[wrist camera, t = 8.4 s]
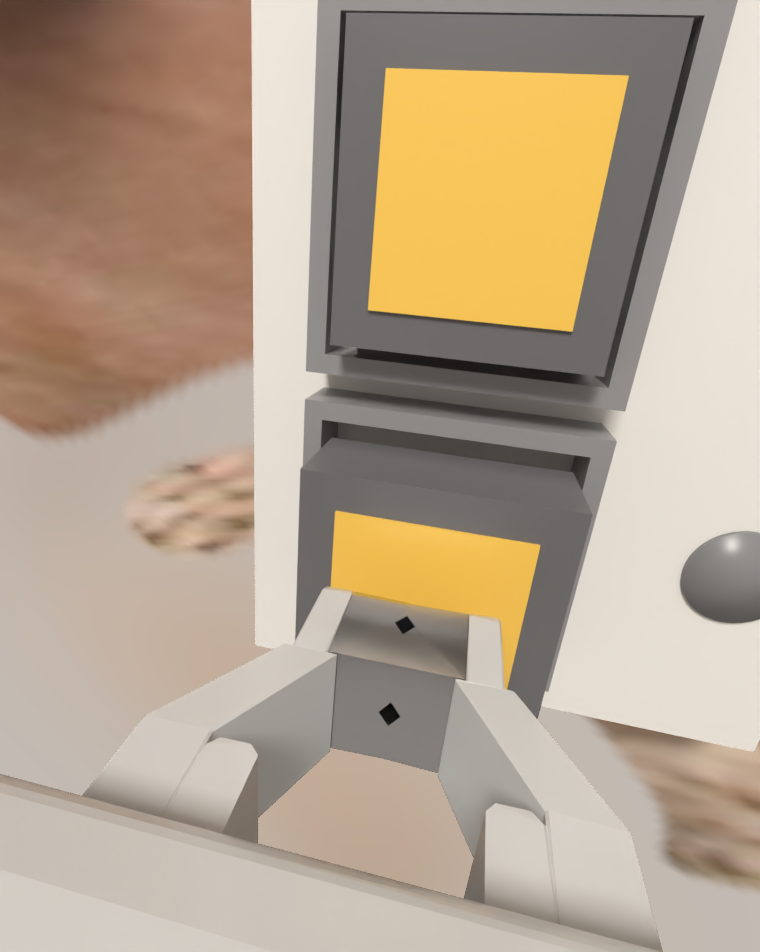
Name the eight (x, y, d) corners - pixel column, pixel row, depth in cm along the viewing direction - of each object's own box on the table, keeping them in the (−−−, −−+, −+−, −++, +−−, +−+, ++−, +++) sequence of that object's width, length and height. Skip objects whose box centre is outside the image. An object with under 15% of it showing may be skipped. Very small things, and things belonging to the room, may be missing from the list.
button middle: (650, 73, 9) (696, 15, 7) (583, 360, 11) (604, 377, 9) (373, 64, 10) (344, 10, 8) (355, 334, 11) (328, 344, 10)
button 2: (573, 472, 10) (593, 516, 8) (524, 669, 12) (532, 741, 10) (332, 437, 11) (299, 470, 9) (321, 627, 13) (292, 687, 11)
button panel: (1258, -642, 7) (2244, -1825, 3) (707, 671, 16) (781, 801, 12) (317, -506, 9) (188, -1110, 5) (290, 590, 18) (234, 677, 14)
